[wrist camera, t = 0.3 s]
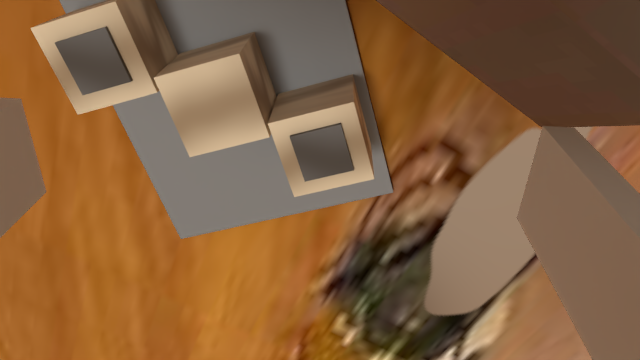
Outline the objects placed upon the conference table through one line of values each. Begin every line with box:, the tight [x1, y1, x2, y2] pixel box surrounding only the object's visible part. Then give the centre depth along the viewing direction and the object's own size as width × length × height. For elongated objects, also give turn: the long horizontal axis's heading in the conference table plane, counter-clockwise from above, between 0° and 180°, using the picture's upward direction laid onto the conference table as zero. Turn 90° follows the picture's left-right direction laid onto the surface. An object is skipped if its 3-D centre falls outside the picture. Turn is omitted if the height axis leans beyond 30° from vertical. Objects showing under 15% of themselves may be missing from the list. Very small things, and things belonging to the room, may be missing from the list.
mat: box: [60, 0, 393, 239], centre depth 39 cm, size 26×20×1 cm
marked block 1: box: [31, 0, 178, 114], centre depth 35 cm, size 6×6×6 cm
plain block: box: [154, 32, 277, 157], centre depth 36 cm, size 6×6×6 cm
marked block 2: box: [268, 74, 374, 197], centre depth 37 cm, size 6×6×6 cm
